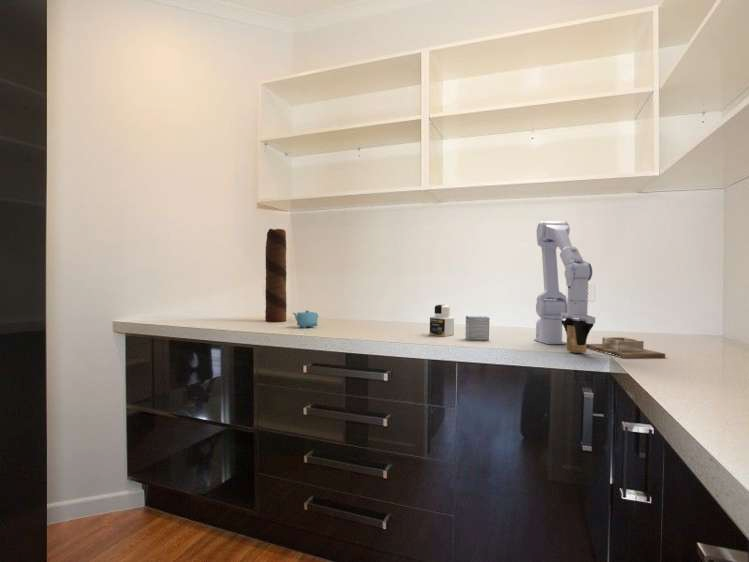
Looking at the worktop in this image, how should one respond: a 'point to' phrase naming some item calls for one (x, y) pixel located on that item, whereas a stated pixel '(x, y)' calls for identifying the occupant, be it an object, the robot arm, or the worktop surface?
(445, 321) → the medicine bottle
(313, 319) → the teapot
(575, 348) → the oak peg
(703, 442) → the worktop surface
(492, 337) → the worktop surface
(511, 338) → the worktop surface
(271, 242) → the wafer roll
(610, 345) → the walnut board
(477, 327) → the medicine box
